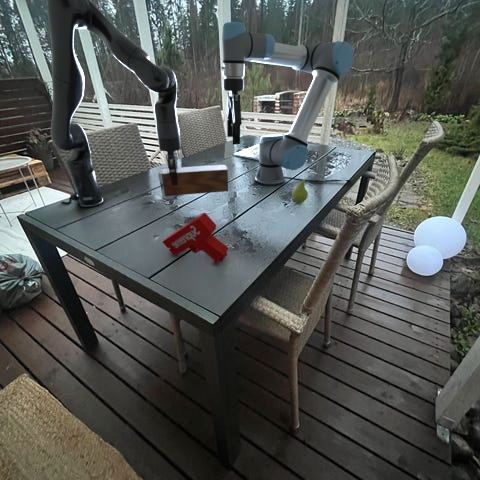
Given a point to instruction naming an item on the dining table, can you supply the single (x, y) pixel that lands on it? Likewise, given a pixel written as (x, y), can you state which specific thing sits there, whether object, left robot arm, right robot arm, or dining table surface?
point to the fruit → (300, 192)
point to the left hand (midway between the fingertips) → (175, 181)
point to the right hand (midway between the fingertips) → (233, 140)
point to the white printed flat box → (250, 152)
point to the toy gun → (197, 239)
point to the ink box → (163, 187)
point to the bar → (196, 180)
